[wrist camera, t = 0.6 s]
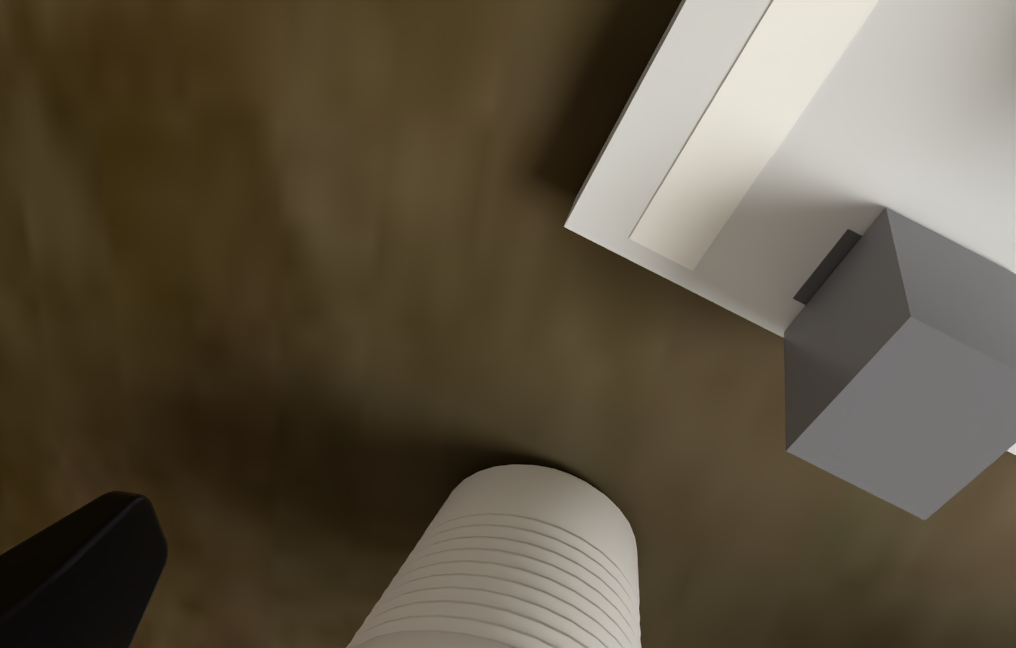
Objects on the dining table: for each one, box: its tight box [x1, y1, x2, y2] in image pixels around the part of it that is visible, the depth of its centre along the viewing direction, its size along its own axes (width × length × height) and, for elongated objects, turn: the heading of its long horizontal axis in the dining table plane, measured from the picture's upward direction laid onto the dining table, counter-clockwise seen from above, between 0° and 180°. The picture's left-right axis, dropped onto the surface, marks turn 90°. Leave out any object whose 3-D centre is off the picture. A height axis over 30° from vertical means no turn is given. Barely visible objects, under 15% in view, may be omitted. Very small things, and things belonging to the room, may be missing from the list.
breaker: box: [784, 207, 1016, 520], centre depth 17 cm, size 3×4×4 cm
